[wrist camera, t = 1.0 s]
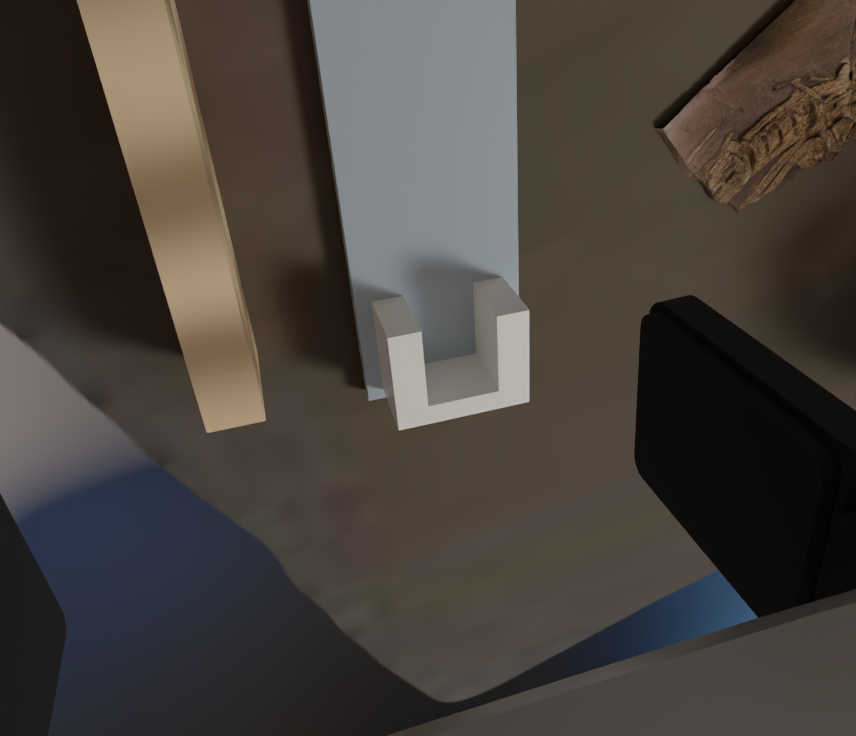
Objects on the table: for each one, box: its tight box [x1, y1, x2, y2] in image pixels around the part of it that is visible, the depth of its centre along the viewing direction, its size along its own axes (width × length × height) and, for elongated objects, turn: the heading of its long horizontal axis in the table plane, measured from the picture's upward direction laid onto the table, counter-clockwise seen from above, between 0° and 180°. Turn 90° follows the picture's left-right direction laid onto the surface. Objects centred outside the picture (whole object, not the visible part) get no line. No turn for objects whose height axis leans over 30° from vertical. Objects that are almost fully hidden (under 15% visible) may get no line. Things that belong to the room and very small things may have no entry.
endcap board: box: [307, 0, 529, 430], centre depth 30 cm, size 27×8×4 cm, turn 5°
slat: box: [77, 0, 266, 433], centre depth 28 cm, size 20×2×6 cm, turn 4°
